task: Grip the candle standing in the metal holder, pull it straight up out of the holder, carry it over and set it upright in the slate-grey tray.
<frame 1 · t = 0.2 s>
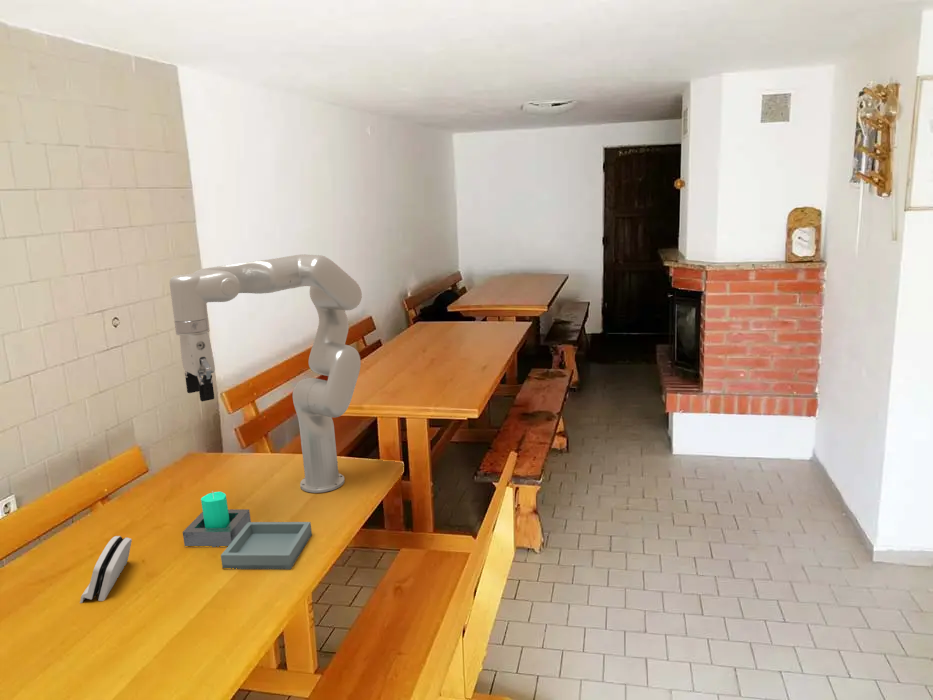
hand: (200, 395, 173), 36 cm above the table, tool pointing down, fingers open, 9 cm apart
tray: (269, 551, 170), on the table
candle: (219, 535, 179), resting in holder
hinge: (111, 582, 161), on the table
holder: (218, 534, 179), on the table
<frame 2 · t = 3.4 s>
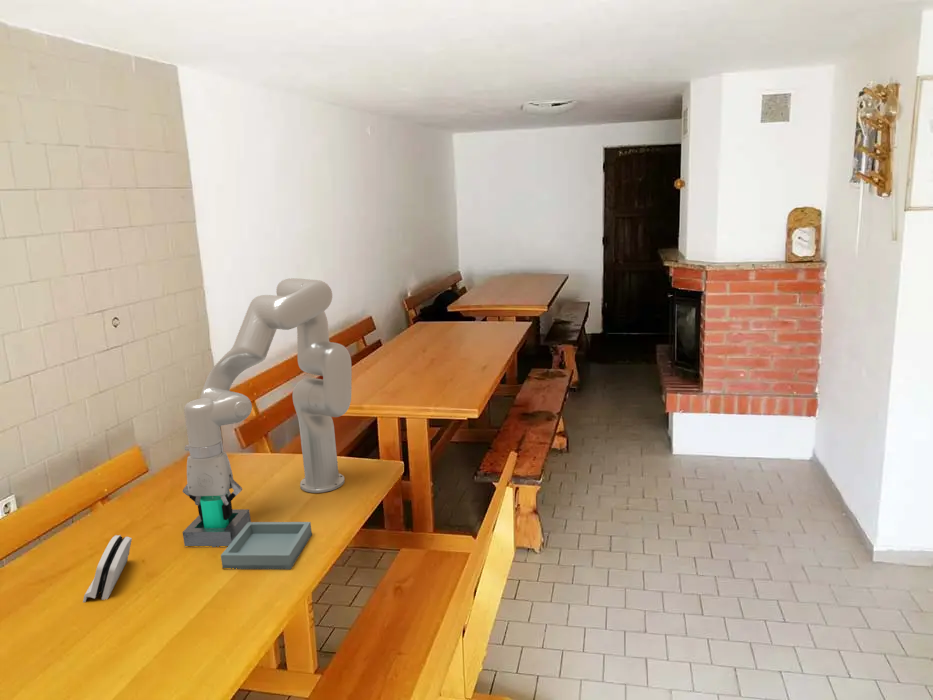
hand: (216, 516, 178), 5 cm above the table, tool pointing down, fingers closed on candle, 5 cm apart
candle: (217, 535, 179), resting in holder, touching gripper
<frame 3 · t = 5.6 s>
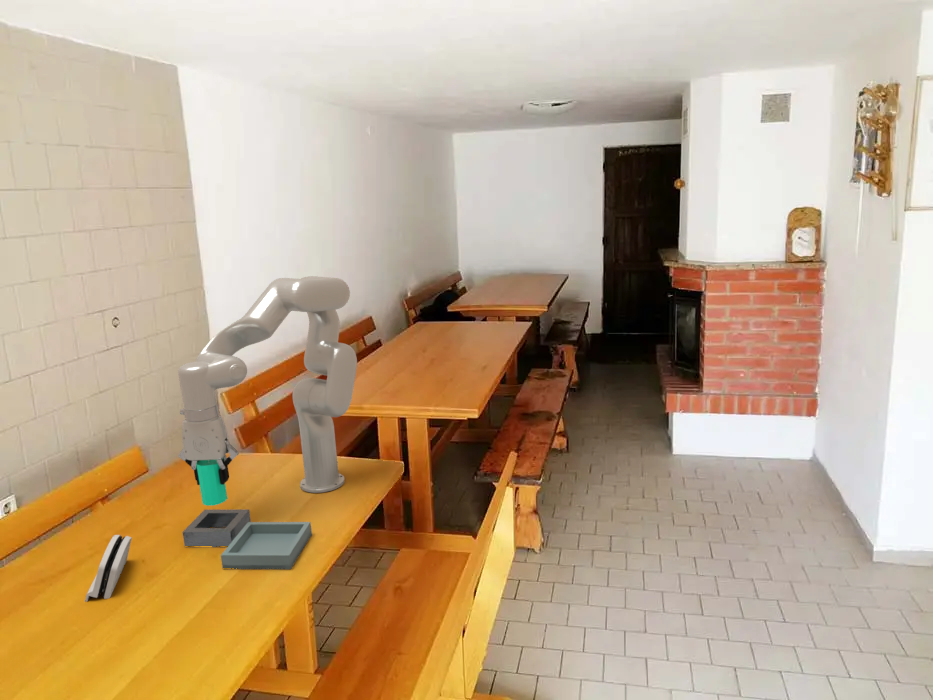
hand: (213, 481, 176), 14 cm above the table, tool pointing down, fingers closed on candle, 5 cm apart
candle: (215, 500, 178), point 9 cm above the table, touching gripper
everything else where it was.
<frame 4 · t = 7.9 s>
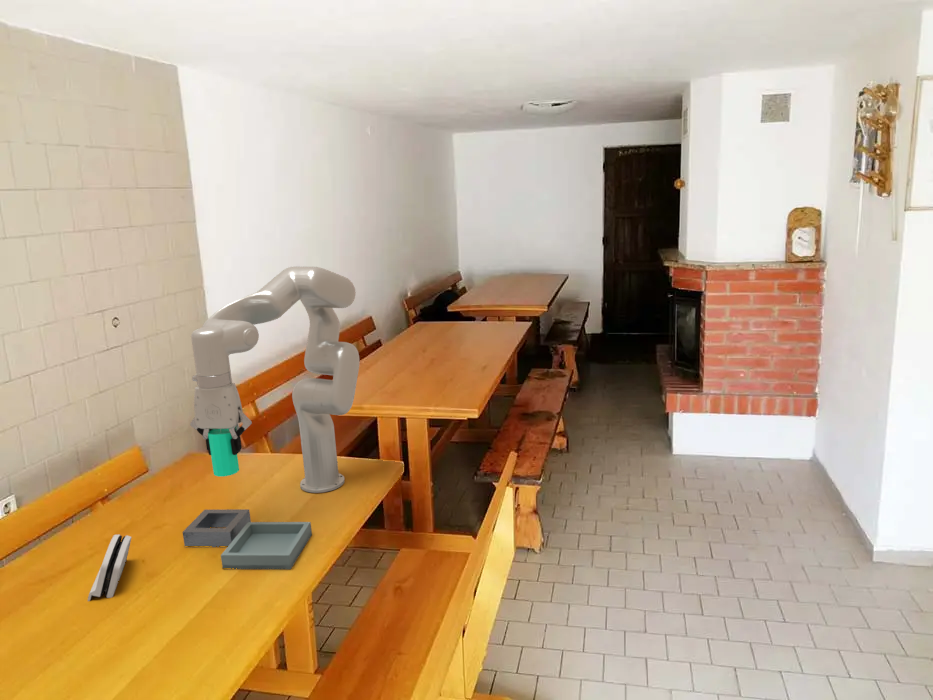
hand: (224, 452, 170), 23 cm above the table, tool pointing down, fingers closed on candle, 5 cm apart
candle: (226, 472, 172), point 18 cm above the table, touching gripper
everything else where it was.
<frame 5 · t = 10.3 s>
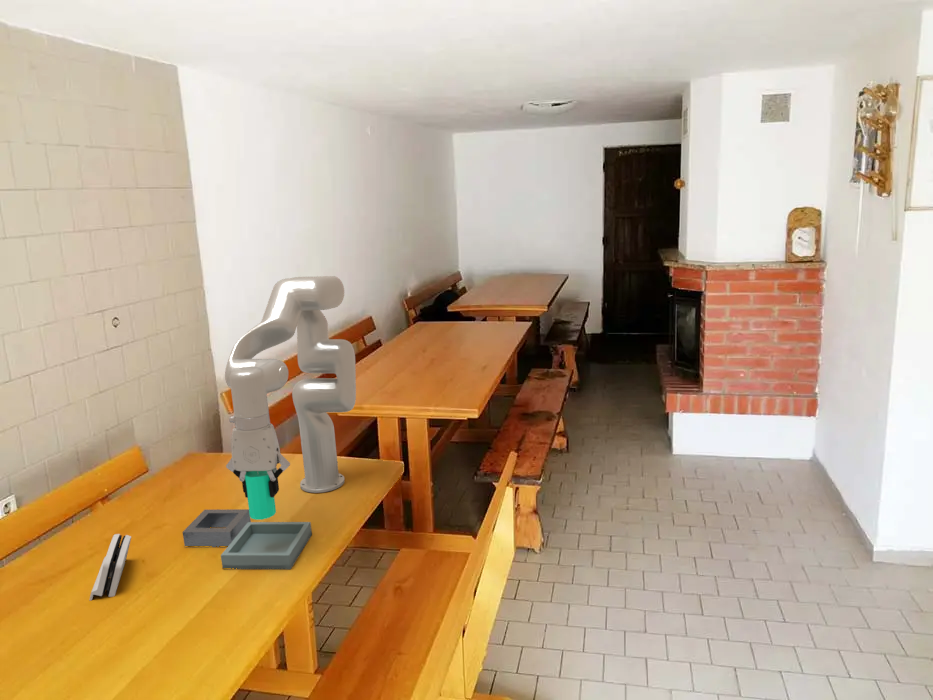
hand: (261, 494, 166), 15 cm above the table, tool pointing down, fingers closed on candle, 5 cm apart
candle: (263, 514, 167), point 10 cm above the table, touching gripper
when the fingers open (7 cm above the table, at t = 12.6 s): candle stays where it is, resting on tray.
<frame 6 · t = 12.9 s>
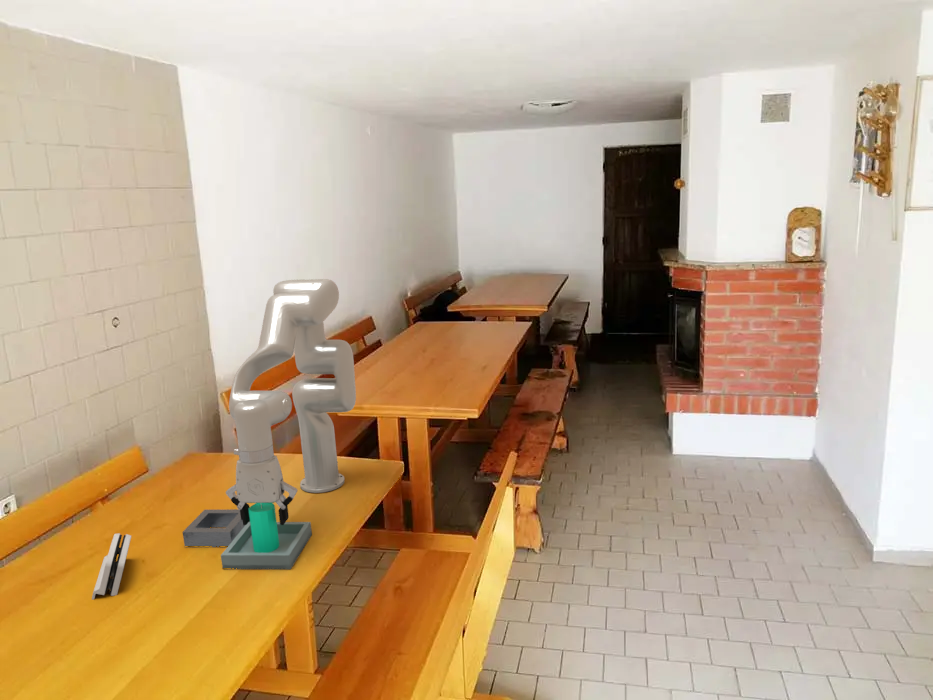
hand: (265, 522, 168), 8 cm above the table, tool pointing down, fingers open, 8 cm apart
candle: (266, 547, 170), point 1 cm above the table, touching tray
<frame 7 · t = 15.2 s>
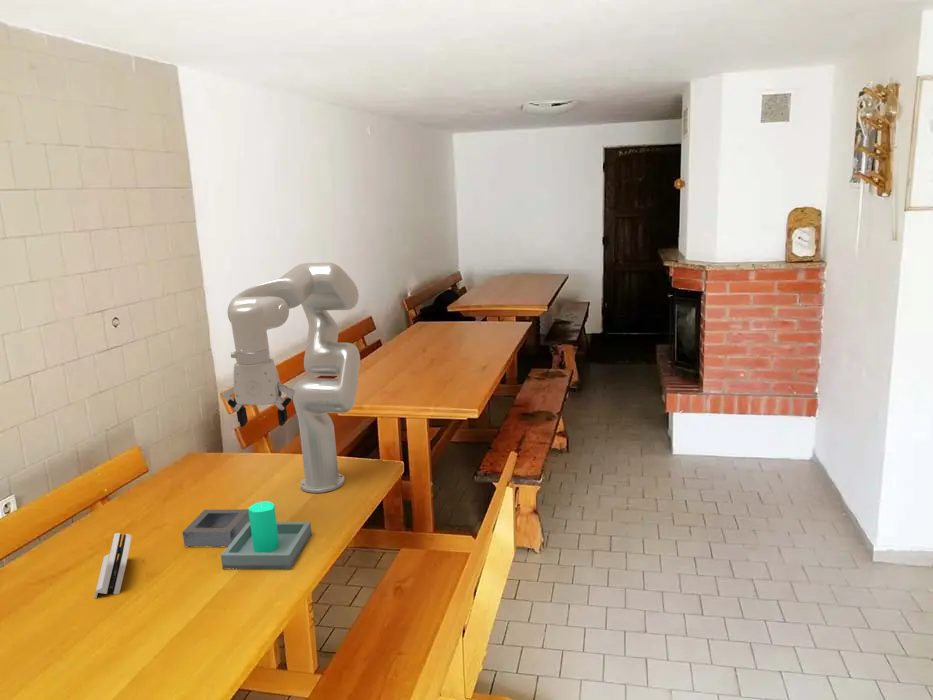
hand: (263, 424, 172), 29 cm above the table, tool pointing down, fingers open, 9 cm apart
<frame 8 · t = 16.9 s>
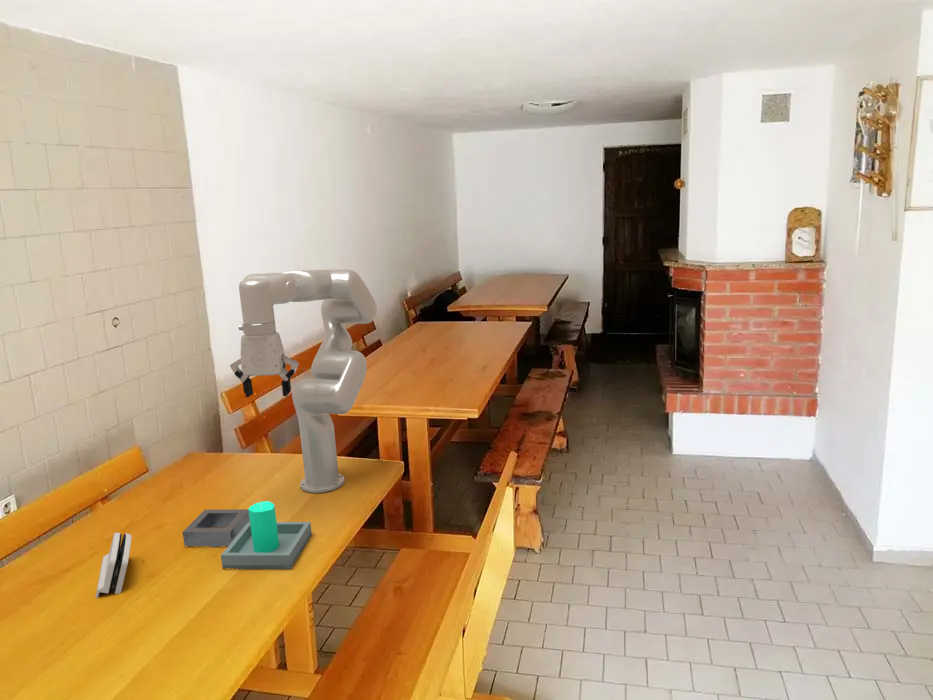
hand: (268, 395, 180), 33 cm above the table, tool pointing down, fingers open, 9 cm apart
at the end: candle inside the target area on the tray (0.6 cm from its centre), point 0.8 cm above the tray's base; candle tilted 0°; the gripper is holding nothing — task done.
